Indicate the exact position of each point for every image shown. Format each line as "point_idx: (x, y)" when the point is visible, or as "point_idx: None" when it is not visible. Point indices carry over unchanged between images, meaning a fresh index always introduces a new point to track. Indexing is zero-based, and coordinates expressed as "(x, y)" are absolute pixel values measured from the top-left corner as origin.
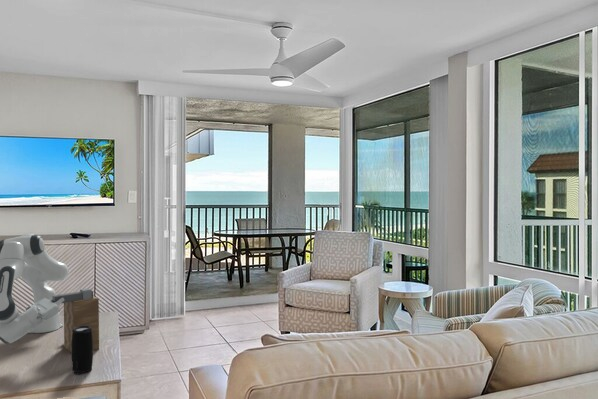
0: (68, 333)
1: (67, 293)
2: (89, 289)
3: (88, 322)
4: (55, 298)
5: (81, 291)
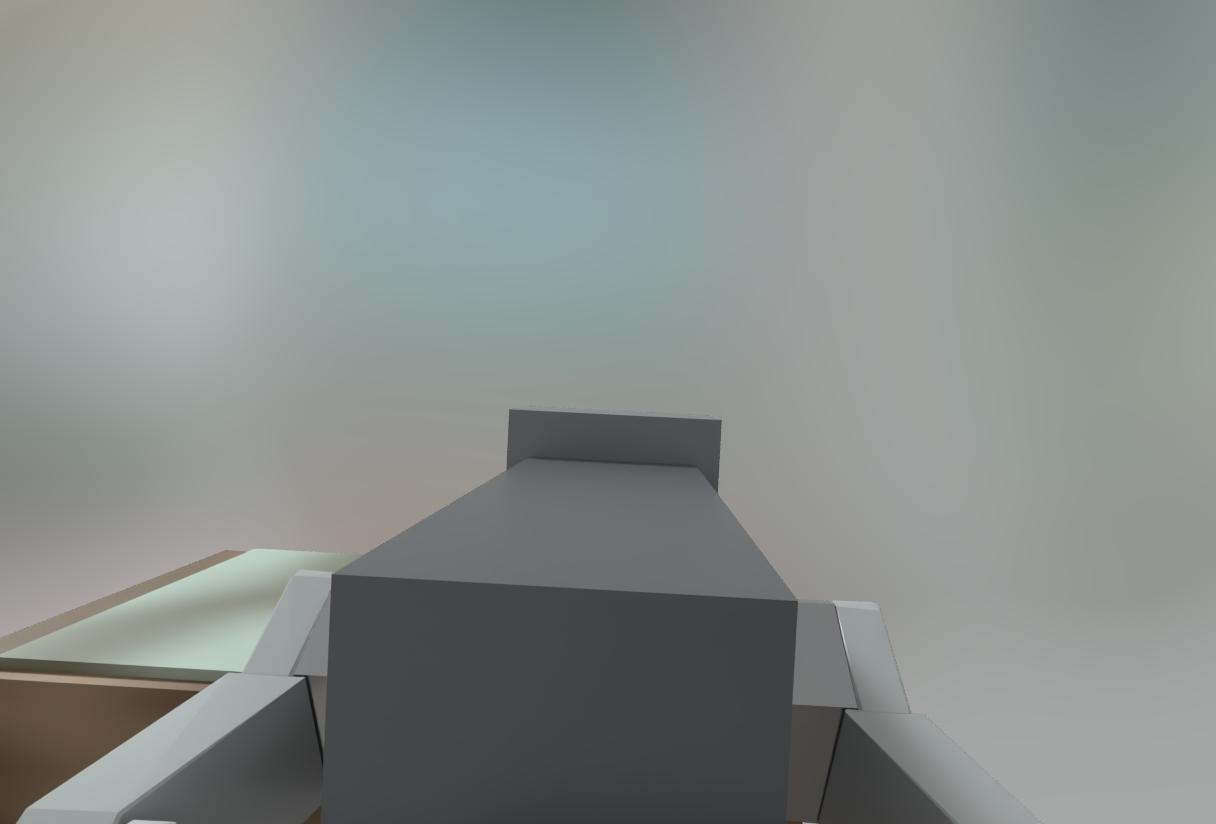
0: None
1: (489, 485)
2: (663, 413)
3: None
4: (790, 690)
5: (600, 447)
